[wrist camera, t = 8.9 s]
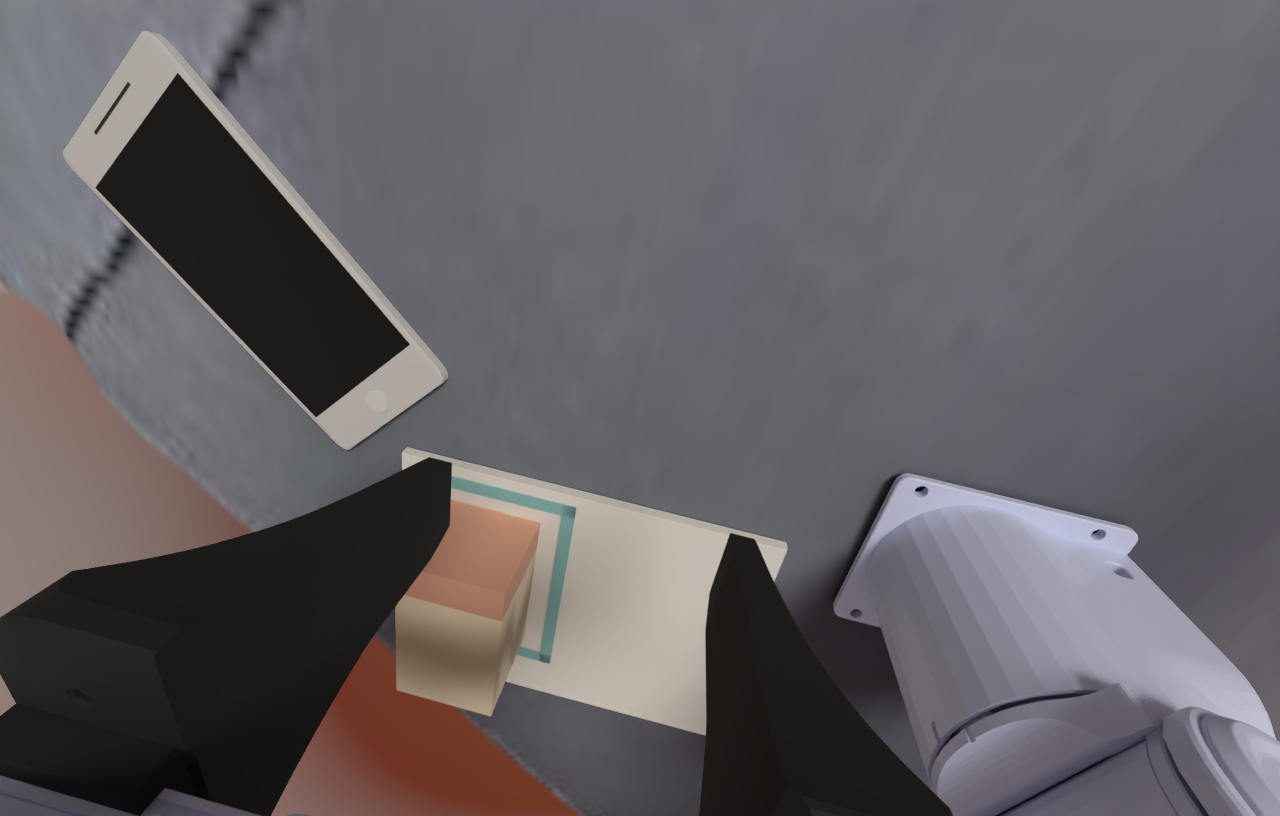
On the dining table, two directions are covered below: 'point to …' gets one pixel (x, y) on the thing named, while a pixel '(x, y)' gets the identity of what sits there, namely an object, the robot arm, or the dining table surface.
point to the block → (467, 610)
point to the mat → (610, 594)
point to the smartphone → (248, 245)
